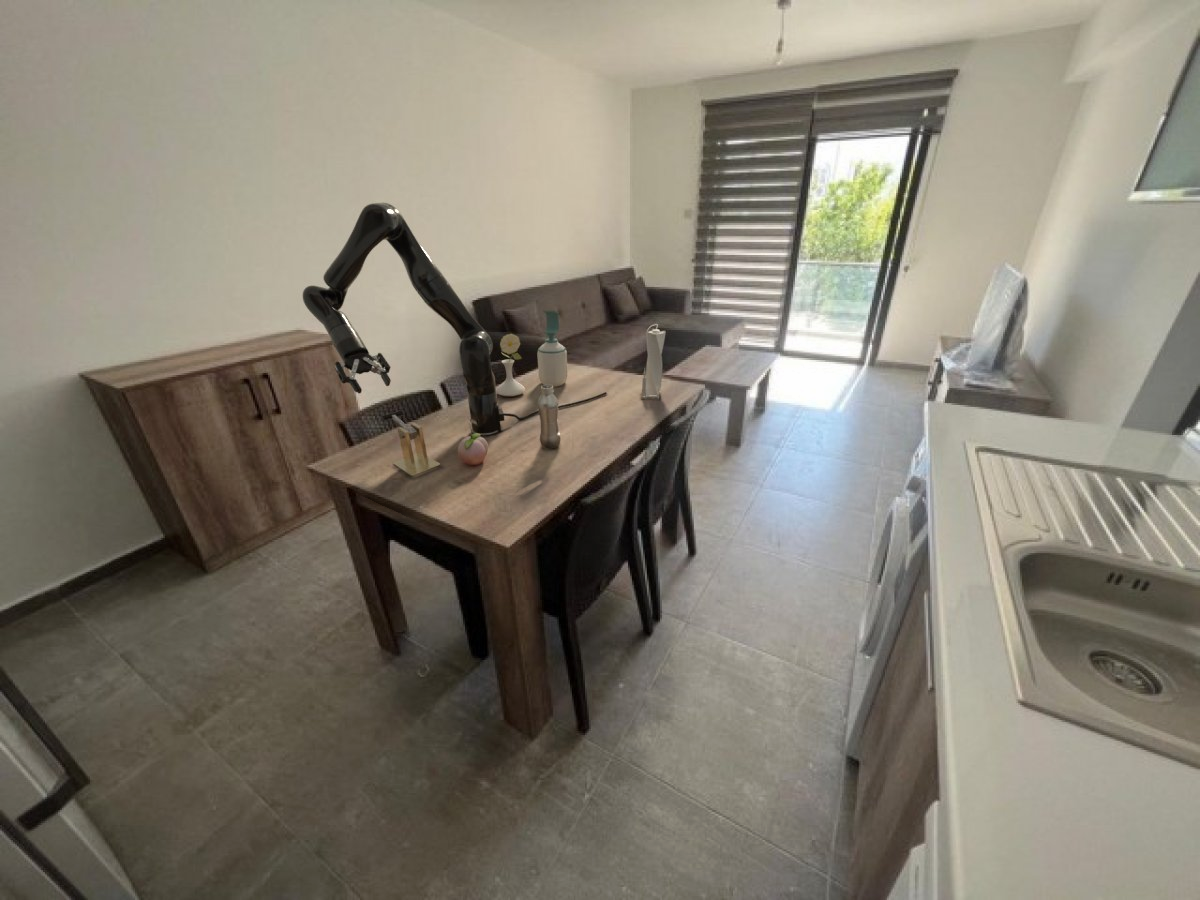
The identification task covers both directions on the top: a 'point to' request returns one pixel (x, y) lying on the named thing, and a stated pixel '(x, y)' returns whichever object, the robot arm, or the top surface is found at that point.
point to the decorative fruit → (473, 449)
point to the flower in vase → (510, 366)
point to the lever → (400, 423)
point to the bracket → (410, 462)
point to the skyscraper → (653, 364)
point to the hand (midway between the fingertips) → (374, 388)
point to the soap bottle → (552, 354)
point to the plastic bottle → (548, 418)
